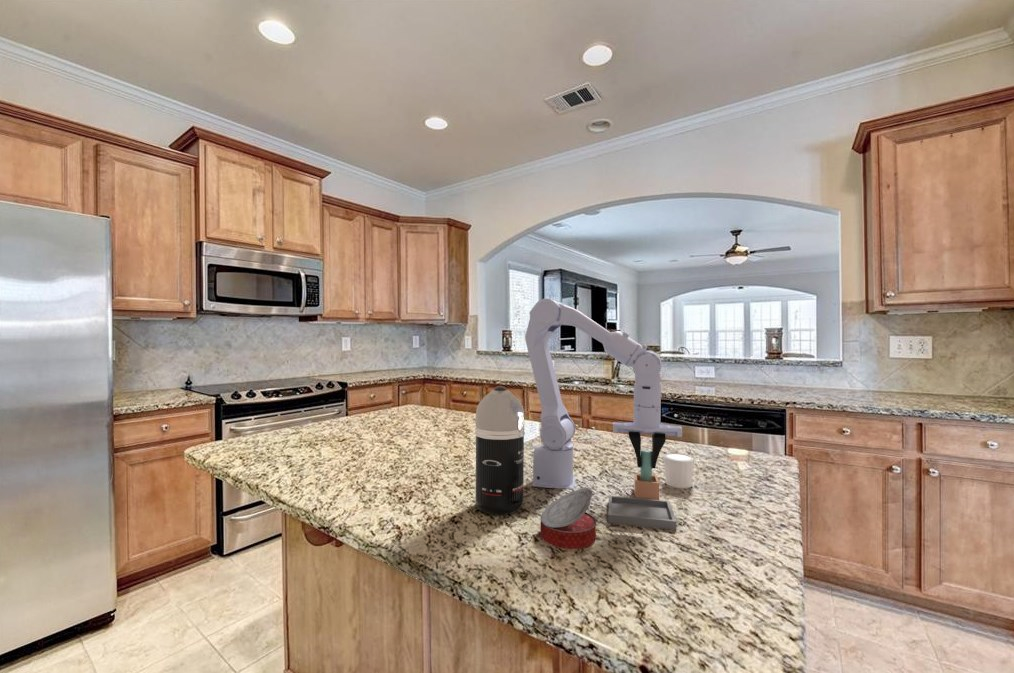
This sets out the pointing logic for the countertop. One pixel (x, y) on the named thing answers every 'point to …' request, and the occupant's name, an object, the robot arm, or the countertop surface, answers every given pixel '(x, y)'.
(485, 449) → the black bottle
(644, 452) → the pin
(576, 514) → the canned food
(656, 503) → the tray
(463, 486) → the countertop surface
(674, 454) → the white short cylinder
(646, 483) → the open box
